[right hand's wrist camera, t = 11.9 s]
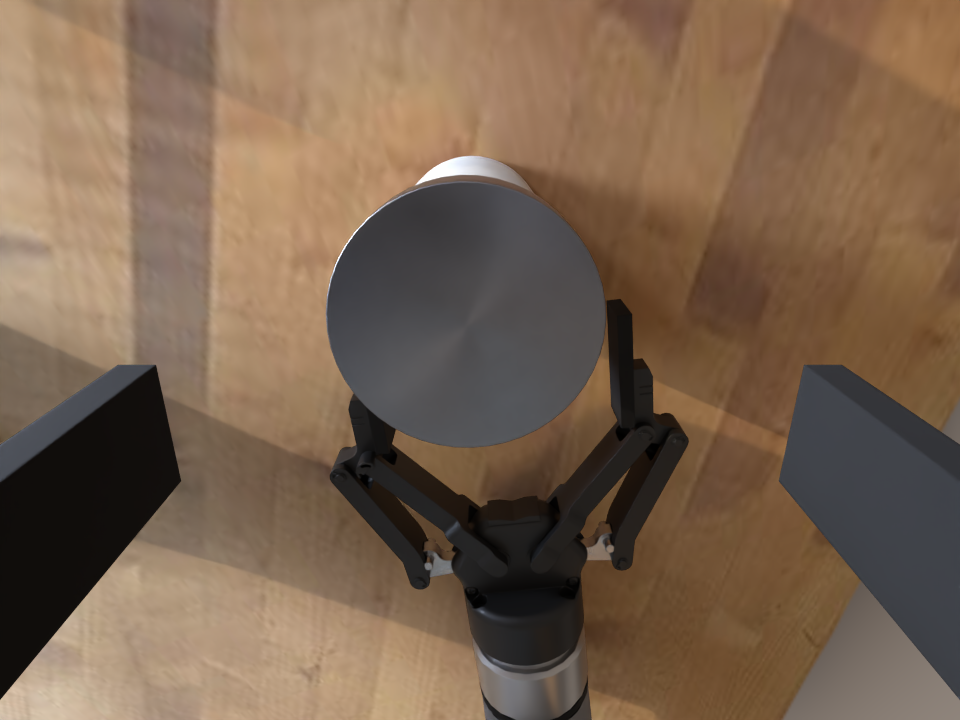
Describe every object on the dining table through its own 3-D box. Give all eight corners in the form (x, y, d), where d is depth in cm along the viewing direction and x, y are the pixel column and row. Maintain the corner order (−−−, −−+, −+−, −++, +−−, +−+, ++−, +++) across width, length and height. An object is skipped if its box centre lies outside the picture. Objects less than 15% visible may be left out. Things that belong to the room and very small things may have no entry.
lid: (457, 113, 19) (454, 112, 17) (647, 299, 21) (664, 318, 19) (289, 313, 21) (269, 334, 19) (475, 461, 24) (474, 493, 22)
